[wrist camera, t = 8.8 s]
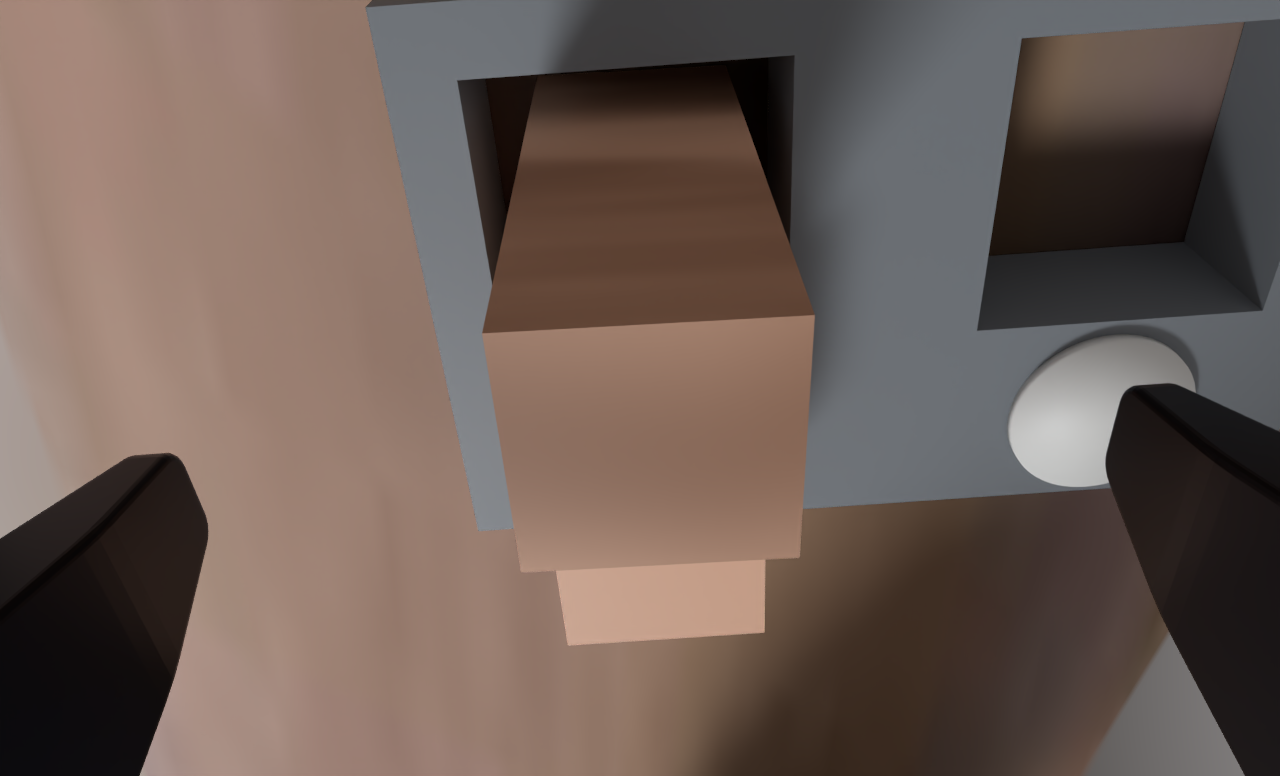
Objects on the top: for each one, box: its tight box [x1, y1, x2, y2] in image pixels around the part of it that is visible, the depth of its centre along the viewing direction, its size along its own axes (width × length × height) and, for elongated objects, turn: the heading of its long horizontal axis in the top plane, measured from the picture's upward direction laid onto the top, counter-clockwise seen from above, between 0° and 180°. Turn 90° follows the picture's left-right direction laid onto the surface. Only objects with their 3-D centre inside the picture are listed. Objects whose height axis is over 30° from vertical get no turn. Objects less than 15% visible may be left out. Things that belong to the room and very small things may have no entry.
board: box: [366, 0, 1280, 646], centre depth 14 cm, size 9×14×6 cm, turn 94°
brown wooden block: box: [482, 65, 815, 573], centre depth 13 cm, size 3×3×8 cm
